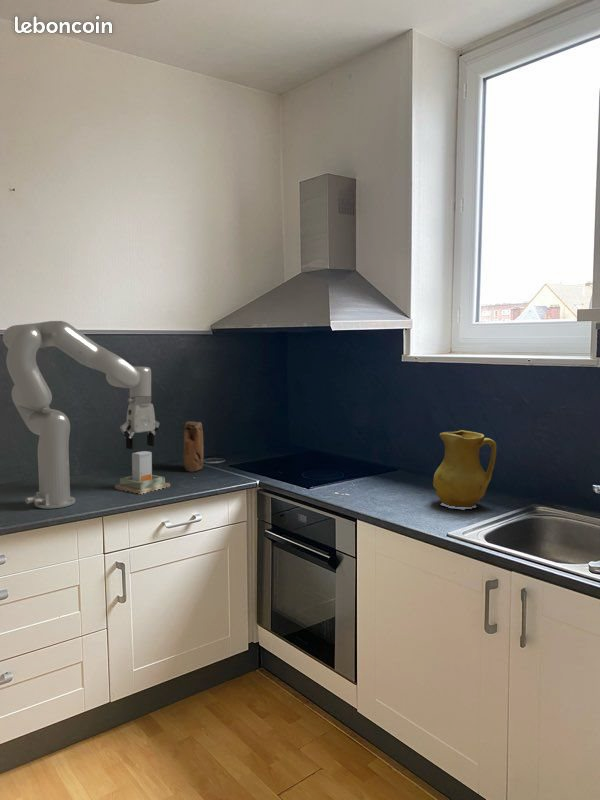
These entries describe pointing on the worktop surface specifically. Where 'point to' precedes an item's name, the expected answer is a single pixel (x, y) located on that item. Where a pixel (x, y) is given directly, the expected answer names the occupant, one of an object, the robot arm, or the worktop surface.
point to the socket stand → (142, 484)
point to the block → (193, 446)
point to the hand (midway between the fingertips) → (140, 447)
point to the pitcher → (463, 469)
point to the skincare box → (142, 466)
